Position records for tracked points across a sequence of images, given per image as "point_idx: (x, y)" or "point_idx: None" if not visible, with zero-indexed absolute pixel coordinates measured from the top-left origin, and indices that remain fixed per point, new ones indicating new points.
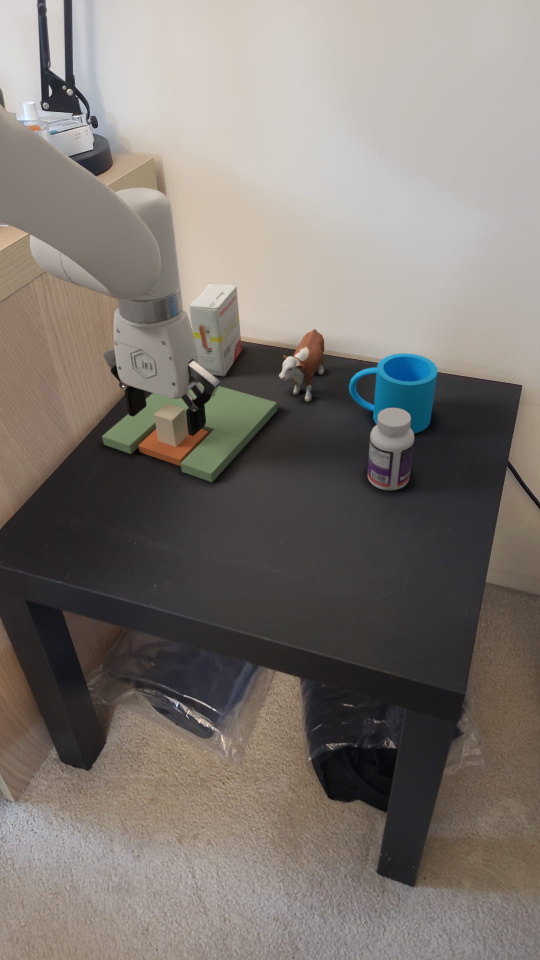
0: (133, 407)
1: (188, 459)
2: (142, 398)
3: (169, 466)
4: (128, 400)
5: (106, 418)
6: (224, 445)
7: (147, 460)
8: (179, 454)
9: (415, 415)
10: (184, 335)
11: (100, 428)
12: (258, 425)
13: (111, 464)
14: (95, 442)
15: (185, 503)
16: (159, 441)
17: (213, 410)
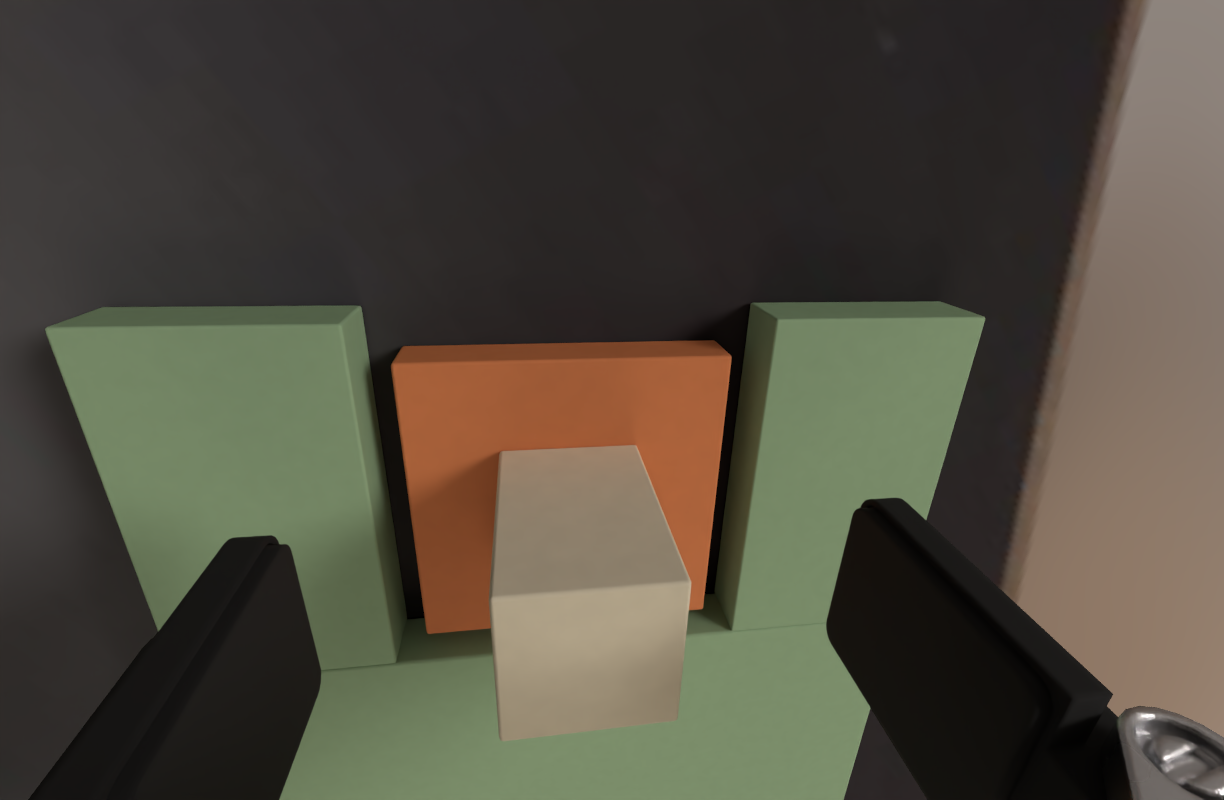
0: (900, 568)
1: (322, 383)
2: (878, 680)
3: (470, 314)
4: (990, 610)
5: (1010, 479)
6: None
7: (629, 300)
8: (431, 403)
9: None
10: None
11: (1011, 405)
12: None
13: (816, 164)
14: (993, 297)
15: (68, 11)
16: (628, 445)
17: (508, 755)
